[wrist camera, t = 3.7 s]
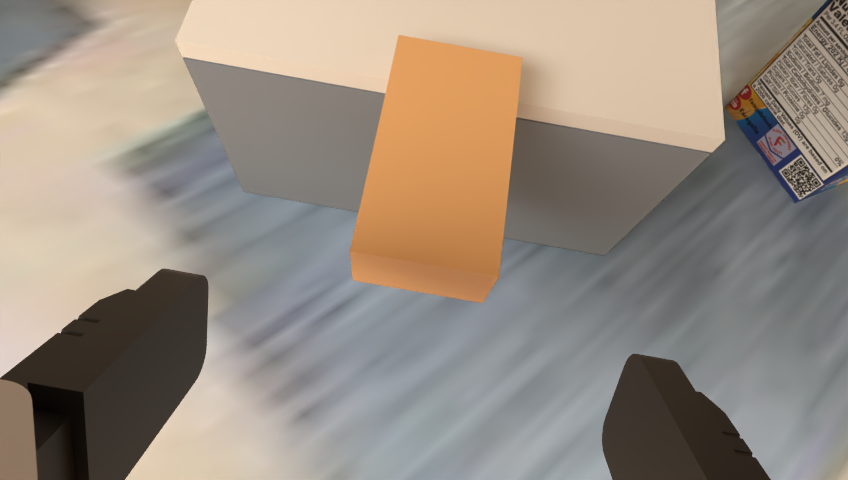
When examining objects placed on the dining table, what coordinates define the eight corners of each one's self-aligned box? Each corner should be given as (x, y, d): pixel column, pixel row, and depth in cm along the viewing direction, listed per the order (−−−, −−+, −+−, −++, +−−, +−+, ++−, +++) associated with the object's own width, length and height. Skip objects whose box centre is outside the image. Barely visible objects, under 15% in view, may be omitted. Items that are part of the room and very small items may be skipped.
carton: (243, 191, 29) (183, 58, 20) (315, -30, 35) (294, -209, 26) (604, 255, 29) (710, 153, 20) (610, 24, 36) (693, -134, 26)
